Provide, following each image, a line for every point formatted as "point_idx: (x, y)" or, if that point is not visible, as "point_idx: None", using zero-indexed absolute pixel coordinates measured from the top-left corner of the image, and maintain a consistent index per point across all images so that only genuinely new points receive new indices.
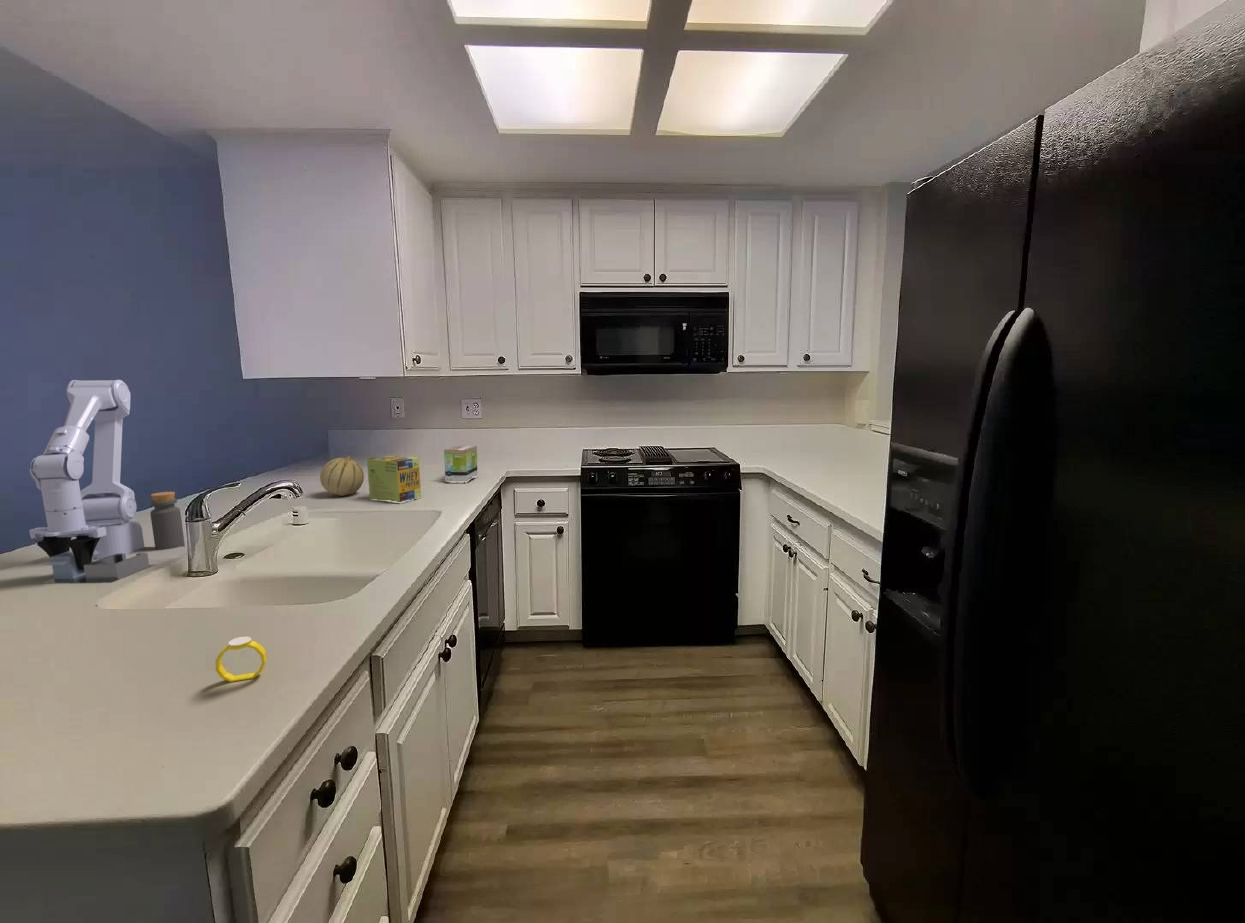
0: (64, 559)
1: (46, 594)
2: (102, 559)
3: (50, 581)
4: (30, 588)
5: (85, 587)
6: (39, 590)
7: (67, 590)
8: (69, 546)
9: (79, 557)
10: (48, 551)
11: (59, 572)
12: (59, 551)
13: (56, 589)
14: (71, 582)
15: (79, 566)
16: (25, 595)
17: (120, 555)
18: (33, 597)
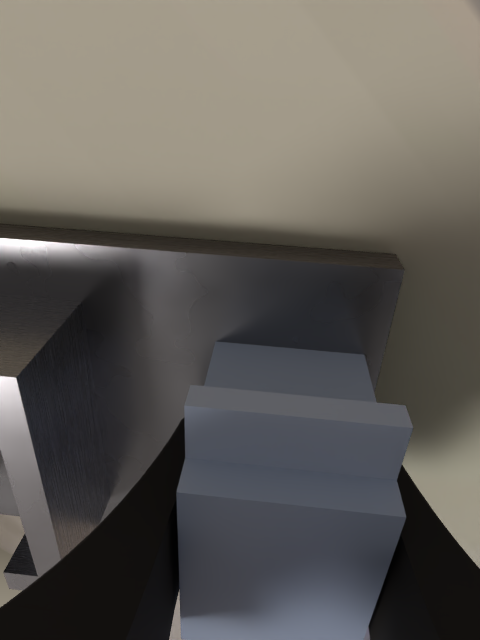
0: (242, 470)
1: (208, 88)
2: (18, 492)
3: (348, 303)
4: (475, 254)
5: (45, 227)
6: (359, 199)
7: (120, 174)
8: (128, 631)
9: (127, 496)
10: (469, 603)
11: (316, 382)
12: (396, 616)
13: (234, 207)
14: (146, 261)
15: (181, 434)
16: (383, 78)
17: (22, 565)
18: (259, 10)
